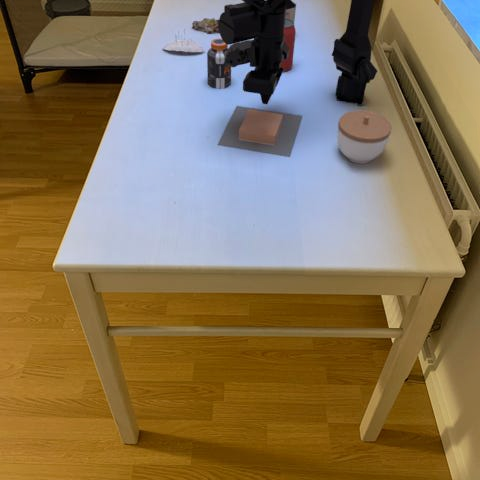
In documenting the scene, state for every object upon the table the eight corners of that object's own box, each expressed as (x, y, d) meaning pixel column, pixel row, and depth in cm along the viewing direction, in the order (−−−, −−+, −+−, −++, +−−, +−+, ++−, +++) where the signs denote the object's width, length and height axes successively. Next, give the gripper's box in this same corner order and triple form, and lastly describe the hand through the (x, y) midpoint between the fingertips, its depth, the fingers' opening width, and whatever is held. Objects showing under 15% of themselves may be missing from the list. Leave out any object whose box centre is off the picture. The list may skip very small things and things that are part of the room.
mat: (302, 117, 120) (302, 115, 119) (289, 158, 108) (290, 156, 108) (236, 107, 122) (236, 105, 122) (217, 146, 111) (217, 144, 110)
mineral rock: (228, 16, 156) (226, 19, 149) (228, 31, 158) (226, 35, 151) (193, 16, 157) (189, 19, 150) (194, 31, 159) (190, 34, 152)
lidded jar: (343, 172, 105) (351, 133, 99) (326, 143, 113) (333, 105, 106) (391, 167, 107) (402, 128, 100) (372, 138, 114) (381, 101, 108)
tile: (283, 114, 115) (275, 136, 109) (282, 123, 117) (274, 145, 111) (248, 109, 116) (238, 130, 110) (248, 118, 118) (238, 139, 112)
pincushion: (160, 55, 142) (158, 35, 138) (164, 45, 146) (163, 25, 142) (203, 58, 141) (202, 37, 137) (206, 48, 145) (205, 28, 141)
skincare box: (270, 36, 151) (273, 1, 144) (281, 32, 154) (283, -3, 146) (283, 42, 149) (286, 6, 142) (293, 38, 151) (297, 2, 144)
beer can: (292, 62, 140) (296, 18, 131) (291, 73, 135) (296, 28, 127) (268, 60, 140) (271, 16, 132) (266, 72, 135) (269, 26, 127)
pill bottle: (228, 92, 128) (228, 48, 120) (205, 89, 128) (203, 45, 120) (233, 80, 132) (233, 37, 124) (210, 78, 132) (210, 34, 124)
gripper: (241, 10, 109) (239, 78, 120) (217, 47, 96) (218, 119, 107) (292, 17, 107) (286, 85, 118) (275, 55, 94) (270, 127, 105)
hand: (265, 103), depth 112 cm, fingers closed
